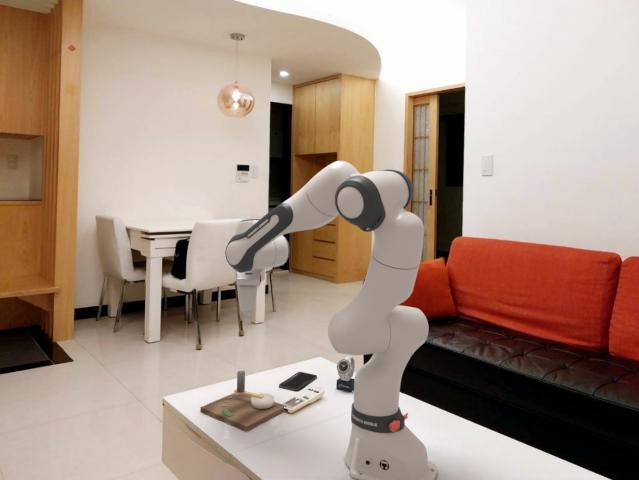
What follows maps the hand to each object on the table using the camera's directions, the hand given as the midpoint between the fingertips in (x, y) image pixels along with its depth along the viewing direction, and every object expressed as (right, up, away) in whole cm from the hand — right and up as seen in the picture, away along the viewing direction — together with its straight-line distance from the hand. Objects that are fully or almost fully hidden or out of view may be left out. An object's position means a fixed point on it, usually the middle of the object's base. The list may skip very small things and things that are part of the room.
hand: (248, 319), depth 146 cm
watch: (+30, -27, +21) cm, 46 cm away
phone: (+14, -27, +26) cm, 40 cm away
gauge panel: (-2, -28, +2) cm, 28 cm away
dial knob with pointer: (+1, -26, +4) cm, 26 cm away
